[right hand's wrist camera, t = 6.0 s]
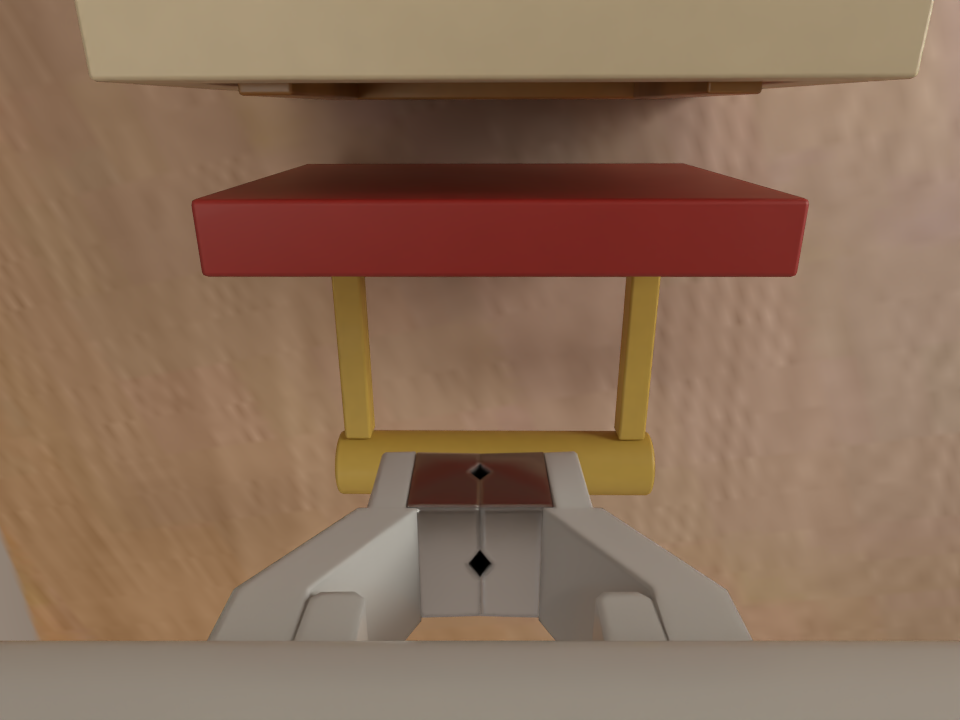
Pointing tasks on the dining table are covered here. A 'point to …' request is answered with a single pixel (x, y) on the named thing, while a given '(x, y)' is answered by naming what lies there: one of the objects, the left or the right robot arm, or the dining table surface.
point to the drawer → (500, 253)
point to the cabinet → (501, 41)
